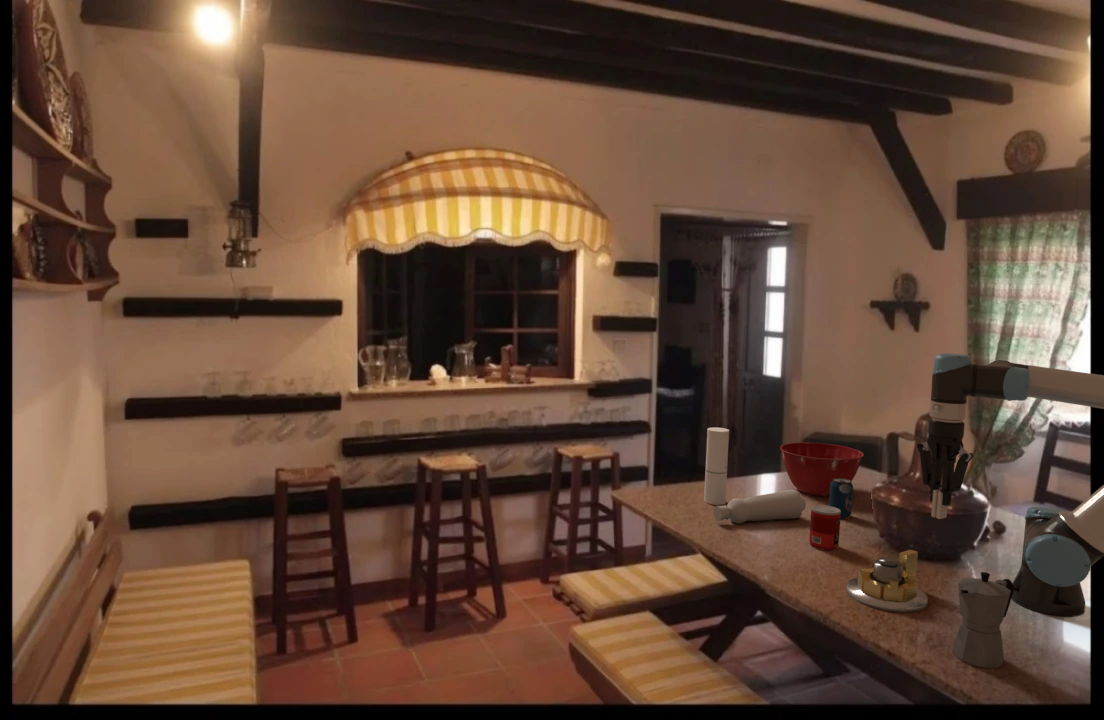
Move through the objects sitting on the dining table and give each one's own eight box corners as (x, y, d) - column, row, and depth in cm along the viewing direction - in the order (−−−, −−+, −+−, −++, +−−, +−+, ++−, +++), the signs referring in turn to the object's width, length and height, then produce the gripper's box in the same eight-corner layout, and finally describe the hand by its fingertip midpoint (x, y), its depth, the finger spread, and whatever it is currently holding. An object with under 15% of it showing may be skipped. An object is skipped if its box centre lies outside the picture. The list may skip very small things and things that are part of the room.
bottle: (786, 501, 252) (706, 511, 242) (796, 482, 246) (715, 492, 237) (800, 523, 246) (719, 534, 236) (811, 504, 240) (728, 515, 230)
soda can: (850, 520, 244) (853, 483, 243) (827, 517, 246) (830, 481, 245) (851, 514, 250) (853, 478, 249) (828, 511, 253) (831, 476, 252)
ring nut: (935, 589, 187) (938, 558, 186) (895, 605, 177) (898, 572, 176) (888, 572, 197) (891, 543, 196) (848, 586, 187) (850, 555, 186)
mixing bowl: (765, 481, 289) (767, 441, 288) (837, 480, 293) (840, 441, 291) (797, 503, 262) (800, 459, 260) (876, 502, 265) (879, 459, 263)
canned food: (840, 552, 215) (843, 514, 214) (810, 549, 217) (813, 511, 216) (836, 542, 223) (838, 506, 221) (807, 540, 224) (809, 503, 223)
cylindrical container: (728, 501, 262) (732, 429, 259) (721, 506, 256) (724, 432, 253) (708, 497, 266) (712, 426, 263) (700, 502, 260) (704, 429, 257)
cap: (942, 601, 183) (945, 565, 182) (899, 618, 173) (902, 580, 172) (873, 576, 198) (876, 542, 197) (831, 590, 188) (833, 555, 187)
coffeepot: (976, 674, 149) (984, 586, 147) (934, 652, 158) (942, 568, 156) (1028, 660, 155) (1037, 575, 153) (986, 639, 164) (993, 558, 162)
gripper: (910, 415, 184) (903, 511, 186) (964, 426, 172) (955, 527, 174) (930, 413, 187) (923, 507, 190) (984, 423, 175) (976, 523, 178)
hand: (938, 516), depth 182 cm, fingers closed
